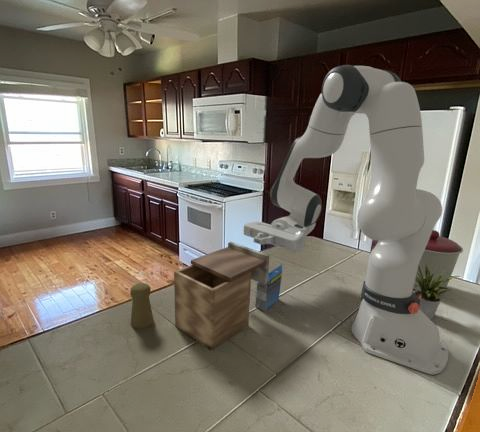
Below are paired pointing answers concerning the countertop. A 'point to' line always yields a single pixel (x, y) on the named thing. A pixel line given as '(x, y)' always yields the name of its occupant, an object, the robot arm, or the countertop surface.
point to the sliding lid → (235, 263)
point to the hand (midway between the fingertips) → (257, 241)
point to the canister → (439, 258)
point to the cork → (141, 306)
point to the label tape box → (269, 290)
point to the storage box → (210, 305)
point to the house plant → (430, 291)
